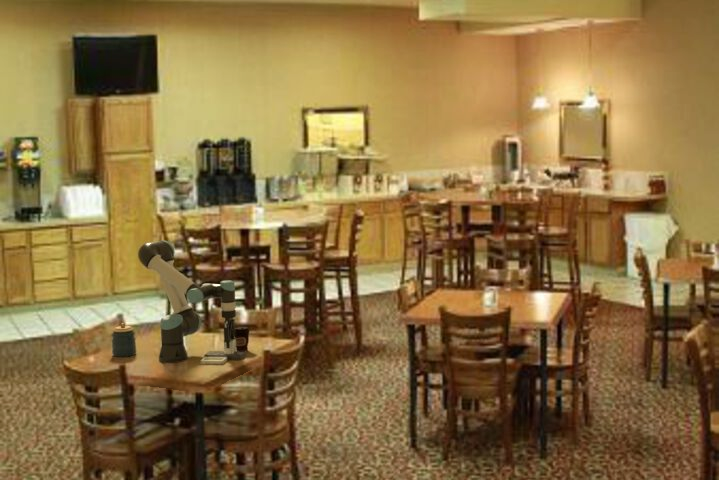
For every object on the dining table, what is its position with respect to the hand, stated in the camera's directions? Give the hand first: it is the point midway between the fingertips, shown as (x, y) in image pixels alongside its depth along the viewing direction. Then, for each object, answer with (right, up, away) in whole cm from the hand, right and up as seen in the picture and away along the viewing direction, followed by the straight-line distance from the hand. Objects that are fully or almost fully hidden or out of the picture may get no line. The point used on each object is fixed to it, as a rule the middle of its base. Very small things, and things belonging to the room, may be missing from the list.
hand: (230, 352), depth 536 cm
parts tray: (-7, -4, -9) cm, 12 cm away
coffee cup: (+5, -1, +16) cm, 16 cm away
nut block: (0, -3, 0) cm, 3 cm away
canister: (-60, -3, +14) cm, 62 cm away
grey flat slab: (-3, -3, +1) cm, 4 cm away
